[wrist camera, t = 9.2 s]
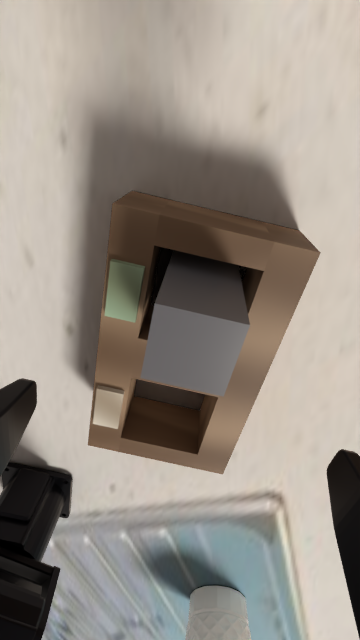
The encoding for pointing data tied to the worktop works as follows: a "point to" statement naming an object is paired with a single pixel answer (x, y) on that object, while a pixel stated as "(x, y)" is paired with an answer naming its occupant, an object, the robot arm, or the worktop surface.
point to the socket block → (136, 314)
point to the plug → (197, 325)
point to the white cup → (217, 615)
